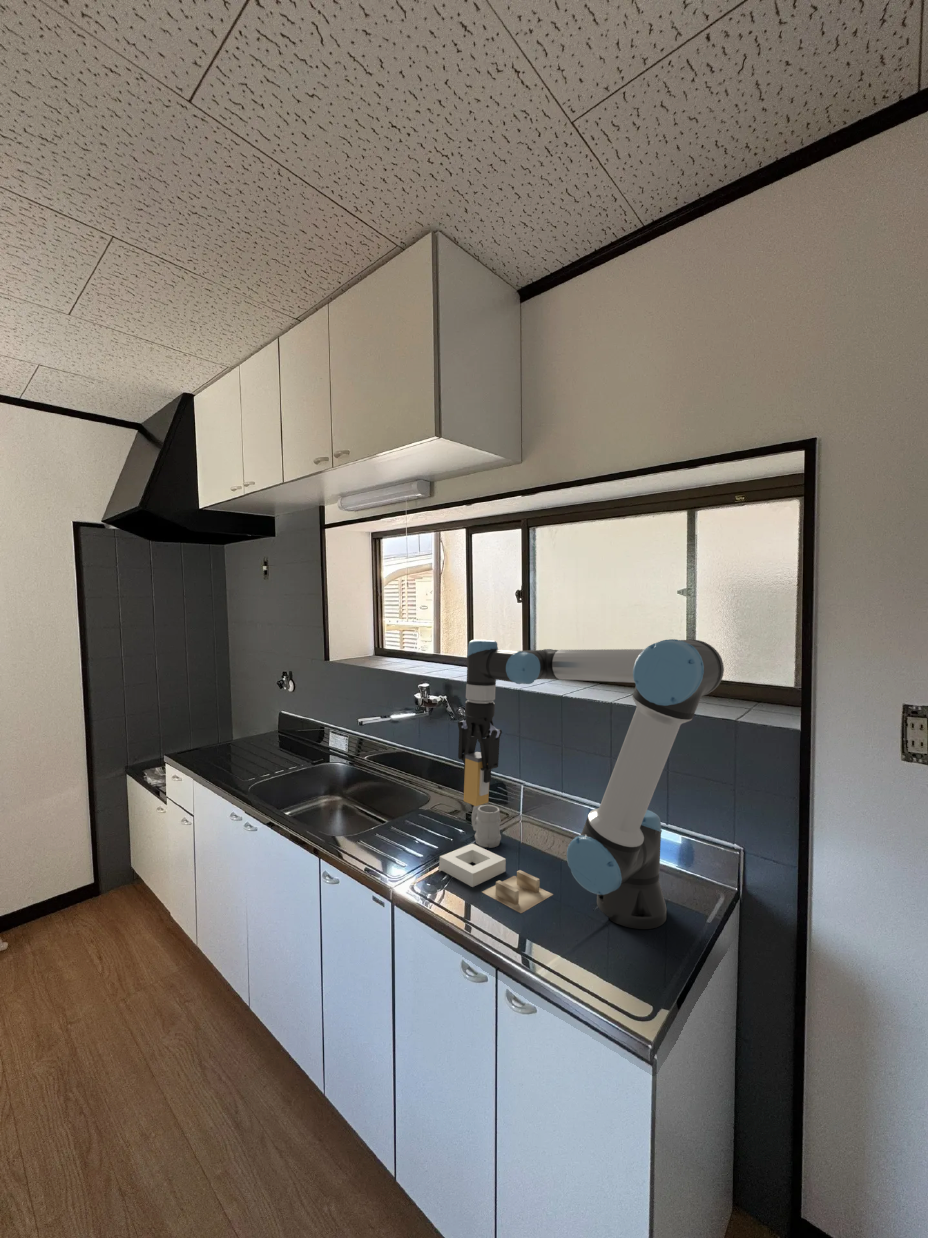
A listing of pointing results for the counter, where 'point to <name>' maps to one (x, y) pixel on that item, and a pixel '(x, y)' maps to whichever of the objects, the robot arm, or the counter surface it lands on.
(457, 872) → the port
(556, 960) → the counter surface
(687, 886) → the counter surface
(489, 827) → the mug
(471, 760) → the plug
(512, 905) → the beige plate with rail
